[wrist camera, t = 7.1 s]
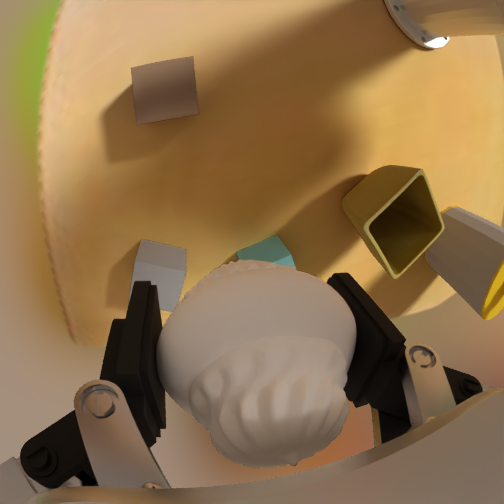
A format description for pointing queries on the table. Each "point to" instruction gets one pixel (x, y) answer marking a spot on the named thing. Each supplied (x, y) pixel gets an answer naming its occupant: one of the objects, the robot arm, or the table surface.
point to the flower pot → (394, 215)
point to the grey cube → (161, 271)
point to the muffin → (260, 361)
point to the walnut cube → (164, 90)
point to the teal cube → (268, 252)
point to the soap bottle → (471, 259)
